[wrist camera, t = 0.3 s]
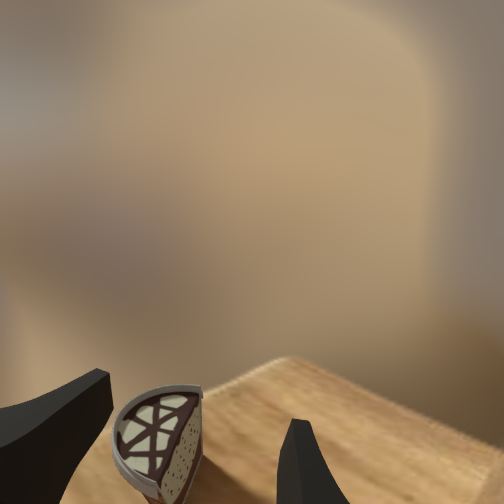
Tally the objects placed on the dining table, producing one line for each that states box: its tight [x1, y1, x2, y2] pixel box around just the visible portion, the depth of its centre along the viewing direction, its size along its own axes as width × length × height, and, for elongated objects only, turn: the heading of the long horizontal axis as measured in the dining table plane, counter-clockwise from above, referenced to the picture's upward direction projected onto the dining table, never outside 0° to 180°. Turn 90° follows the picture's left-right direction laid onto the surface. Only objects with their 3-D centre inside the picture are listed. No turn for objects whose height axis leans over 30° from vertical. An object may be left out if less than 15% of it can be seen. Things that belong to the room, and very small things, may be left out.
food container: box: [111, 384, 203, 504], centre depth 24 cm, size 12×6×10 cm, turn 170°
